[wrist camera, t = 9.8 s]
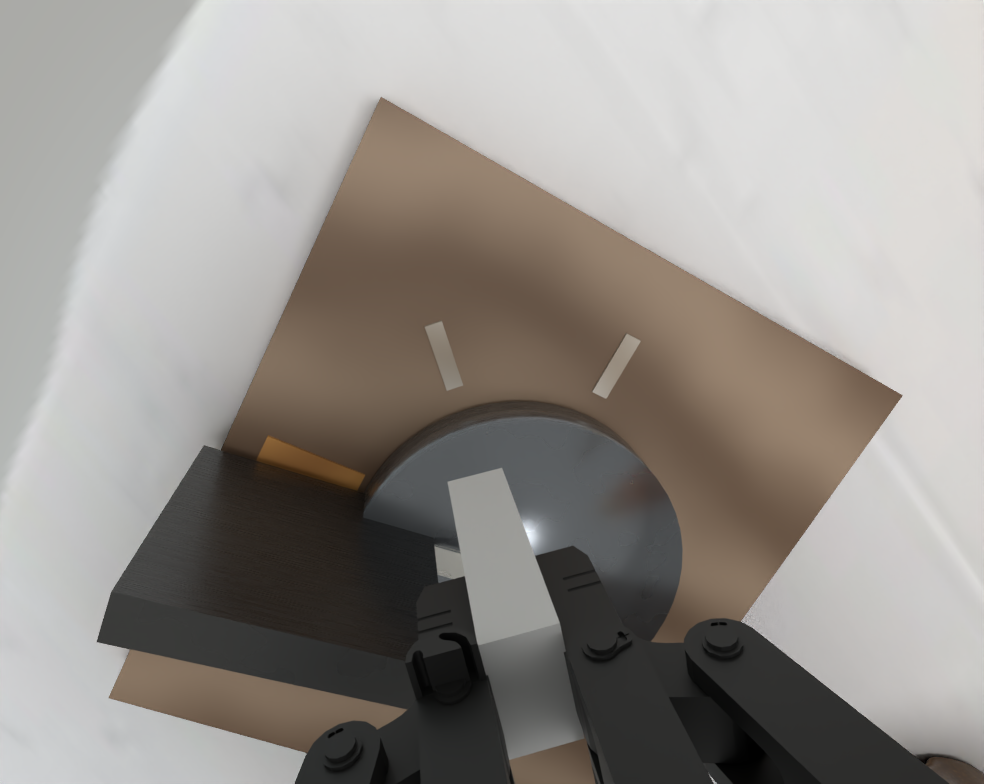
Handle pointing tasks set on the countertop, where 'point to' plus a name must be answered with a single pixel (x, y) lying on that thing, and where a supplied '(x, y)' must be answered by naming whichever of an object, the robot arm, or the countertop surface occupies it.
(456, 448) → the dial
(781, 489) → the panel
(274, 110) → the countertop surface
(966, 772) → the plant pot
